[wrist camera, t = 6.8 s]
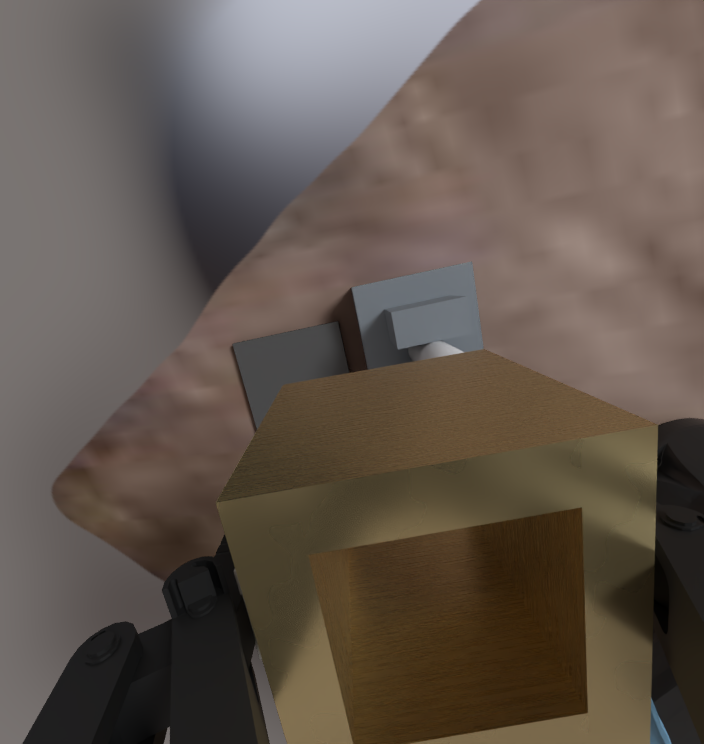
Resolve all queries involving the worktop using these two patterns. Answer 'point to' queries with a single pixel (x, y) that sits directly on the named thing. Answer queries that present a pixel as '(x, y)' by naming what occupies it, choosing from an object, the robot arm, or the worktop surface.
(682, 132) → the worktop surface
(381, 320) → the vise
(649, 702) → the brass collar
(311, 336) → the rubber mat
